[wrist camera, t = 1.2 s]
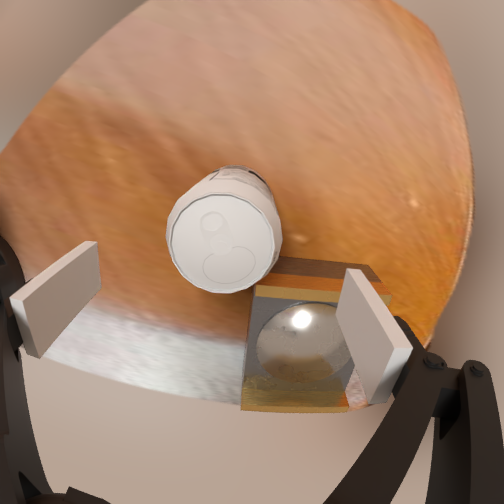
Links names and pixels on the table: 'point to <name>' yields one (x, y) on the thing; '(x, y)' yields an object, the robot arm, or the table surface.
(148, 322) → the table surface
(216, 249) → the supplement can
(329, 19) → the table surface
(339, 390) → the grey boxy piece
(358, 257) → the table surface
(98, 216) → the table surface
